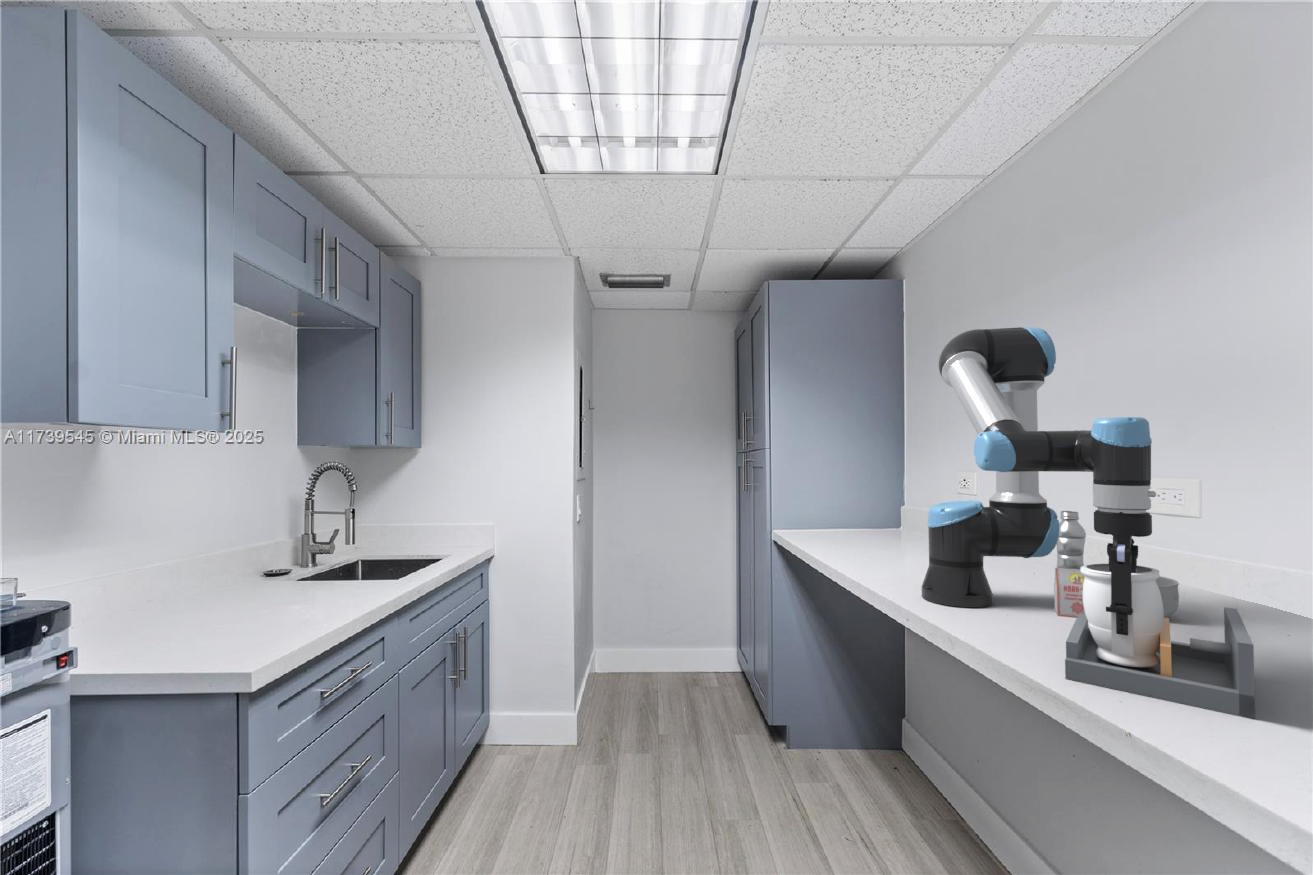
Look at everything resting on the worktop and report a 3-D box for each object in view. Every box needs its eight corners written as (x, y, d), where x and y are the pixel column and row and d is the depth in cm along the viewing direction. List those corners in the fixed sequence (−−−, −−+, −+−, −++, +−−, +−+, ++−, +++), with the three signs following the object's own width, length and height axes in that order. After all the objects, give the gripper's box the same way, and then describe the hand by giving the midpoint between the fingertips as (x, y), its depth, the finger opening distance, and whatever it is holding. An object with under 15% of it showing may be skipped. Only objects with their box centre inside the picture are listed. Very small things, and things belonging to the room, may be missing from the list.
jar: (1186, 671, 89) (1176, 573, 90) (1111, 670, 91) (1102, 574, 92) (1141, 649, 100) (1132, 562, 101) (1075, 649, 101) (1067, 563, 102)
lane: (1065, 678, 92) (1064, 615, 92) (1079, 642, 108) (1078, 588, 108) (1254, 719, 78) (1253, 644, 78) (1238, 670, 94) (1236, 608, 95)
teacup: (1190, 625, 118) (1189, 586, 118) (1125, 620, 121) (1124, 582, 122) (1158, 607, 131) (1157, 571, 131) (1100, 603, 134) (1099, 568, 135)
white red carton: (1054, 611, 128) (1053, 566, 128) (1092, 615, 125) (1091, 569, 125) (1057, 616, 125) (1056, 569, 125) (1096, 620, 122) (1095, 572, 122)
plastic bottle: (1048, 588, 148) (1046, 510, 148) (1072, 587, 149) (1071, 510, 149) (1068, 595, 141) (1067, 513, 142) (1093, 594, 142) (1092, 513, 142)
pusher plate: (1161, 685, 86) (1160, 645, 86) (1160, 652, 99) (1159, 617, 99) (1171, 688, 85) (1170, 647, 85) (1169, 653, 99) (1169, 618, 99)
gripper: (1151, 519, 85) (1153, 671, 85) (1152, 505, 102) (1154, 632, 101) (1087, 515, 90) (1089, 659, 89) (1098, 503, 107) (1100, 624, 106)
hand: (1124, 645), depth 95 cm, fingers closed on jar, 10 cm apart
